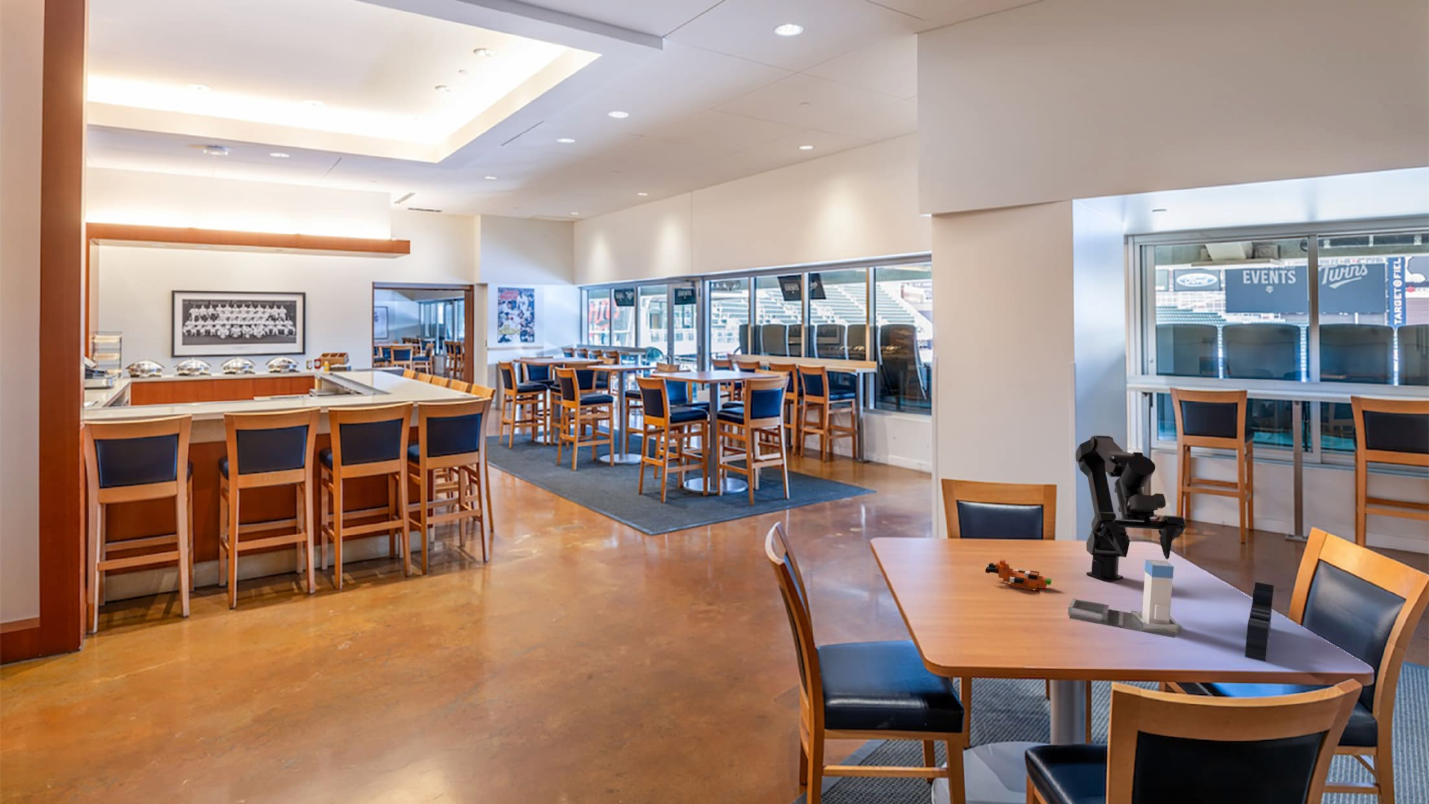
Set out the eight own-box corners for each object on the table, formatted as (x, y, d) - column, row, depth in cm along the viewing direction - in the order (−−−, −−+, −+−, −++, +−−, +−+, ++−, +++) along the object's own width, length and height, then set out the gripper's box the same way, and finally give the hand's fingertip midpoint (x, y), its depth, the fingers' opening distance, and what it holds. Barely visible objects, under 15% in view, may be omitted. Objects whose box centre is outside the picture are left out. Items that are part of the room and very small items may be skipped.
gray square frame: (1130, 619, 164) (1131, 610, 163) (1166, 622, 162) (1167, 613, 162) (1142, 632, 156) (1143, 623, 156) (1180, 636, 155) (1181, 626, 155)
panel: (1172, 622, 162) (1172, 619, 162) (1174, 640, 153) (1175, 636, 153) (1073, 605, 172) (1073, 601, 172) (1069, 620, 163) (1069, 616, 163)
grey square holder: (1072, 607, 171) (1073, 598, 171) (1108, 614, 167) (1108, 605, 167) (1067, 617, 165) (1068, 607, 164) (1104, 624, 161) (1105, 615, 160)
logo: (1251, 624, 162) (1255, 581, 161) (1270, 628, 160) (1274, 584, 159) (1244, 660, 144) (1248, 611, 143) (1265, 665, 142) (1269, 615, 141)
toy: (991, 554, 192) (1053, 564, 184) (990, 576, 192) (1052, 587, 185) (985, 562, 185) (1049, 572, 177) (984, 585, 186) (1048, 596, 178)
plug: (1141, 621, 162) (1145, 559, 160) (1161, 622, 161) (1166, 560, 159) (1150, 630, 156) (1154, 566, 155) (1171, 632, 156) (1175, 568, 154)
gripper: (1098, 478, 171) (1110, 536, 162) (1186, 482, 167) (1204, 542, 158) (1086, 503, 180) (1097, 560, 170) (1170, 508, 176) (1186, 566, 166)
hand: (1145, 556), depth 166 cm, fingers open, 9 cm apart
